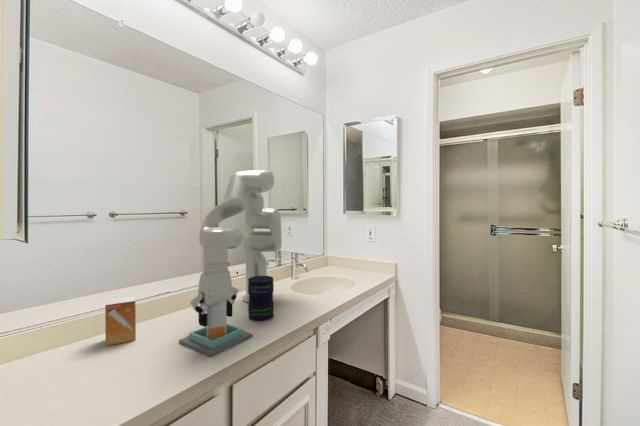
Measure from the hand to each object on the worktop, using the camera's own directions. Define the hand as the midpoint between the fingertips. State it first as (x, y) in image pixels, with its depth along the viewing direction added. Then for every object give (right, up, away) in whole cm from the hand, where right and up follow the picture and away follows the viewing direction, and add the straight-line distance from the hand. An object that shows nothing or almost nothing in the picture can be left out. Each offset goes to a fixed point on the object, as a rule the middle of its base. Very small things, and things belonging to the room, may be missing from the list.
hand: (216, 320), depth 97 cm
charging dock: (0, -6, 0) cm, 6 cm away
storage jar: (+10, -6, +21) cm, 24 cm away
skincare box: (0, -6, 0) cm, 6 cm away
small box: (-31, -7, 0) cm, 32 cm away
